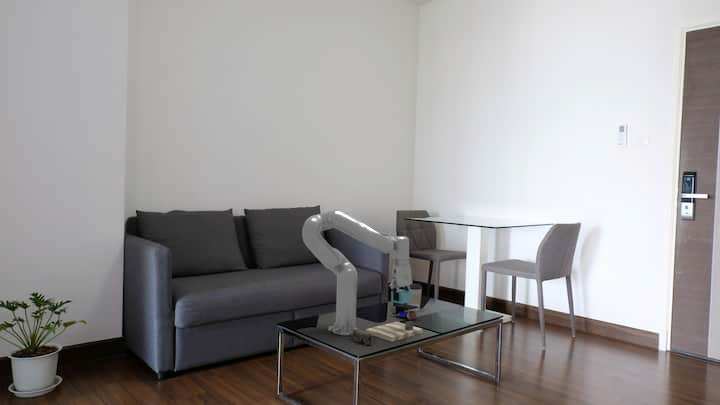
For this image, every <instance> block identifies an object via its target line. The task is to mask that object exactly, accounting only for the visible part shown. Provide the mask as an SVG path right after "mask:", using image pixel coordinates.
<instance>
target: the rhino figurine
mask: <svg viewBox="0 0 720 405" xmlns="http://www.w3.org/2000/svg"><path fill="white" fill-rule="evenodd" d="M351 330H352V329H351ZM352 331H353V333H352V334H351V333H350V335H349V336H350V338H351V339H354V338H356V342H355V343H357V344H359V343H363V344H362V345H363V346H364V347H365V346H367V345H368V346H373V341H372V339H373V336H372V335H371V334H370V333H369V332H367V331H366V330H362V329H361V328H357V329H355V330H352ZM368 341H369V344H367V343H368Z"/></svg>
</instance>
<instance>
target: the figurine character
mask: <svg viewBox="0 0 720 405" xmlns="http://www.w3.org/2000/svg"><path fill="white" fill-rule="evenodd" d="M416 308H418V307H417V306H412V305H407V303H404V304H400V303H399V304H396V305H394V306H391V308H390V311H391V313H392V314H395V316H397V317H396V318H400V317H401V318H407V319H408V320H409V321H415V320H416V319H417V317H418V316H417V312H416V311H409V310H412V309H416ZM407 309H409V310H408V311H405V310H407Z"/></svg>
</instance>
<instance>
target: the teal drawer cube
mask: <svg viewBox="0 0 720 405" xmlns="http://www.w3.org/2000/svg"><path fill="white" fill-rule="evenodd" d="M398 293H399V301H394V300H393V292H392V290H391V292H390V294H391V295H390V297H391V298H390V302H391V303H394V304H395V303H396V304H399V305H400V304H407V303H408V302H411V291H407V290H405V289H402V288H401V289H400V288H399V291H398Z"/></svg>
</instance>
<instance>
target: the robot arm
mask: <svg viewBox="0 0 720 405" xmlns="http://www.w3.org/2000/svg"><path fill="white" fill-rule="evenodd" d="M303 223H304V224H303V226H302V229H301V230H302V231H301V235H302V237H301V238H302V241H303V243H304V244H305V246H306V248H307V249H308V250H309V251H310V252H311V253H312V254H313V255H314V257H316V258H317V260H319V262H320V263H321V264H322V265H323V267H324V268H326V269H327V270H330V271H331V273H332V272H333V274H334V275H335V276H336V304H335V306H336V307H335V322H334V323H333V325H331V326H328V327H327V329H328V331H329V332H330V331H332V332H331V333H333V334H335V335H338V336H351V335H350V333H351V334H352V333H353V331H352V330H355V329H358V327H357V326H356V325H357V324H356V323H357V322H356V320H357V319H356V318H357V296H358V295H357V294H358V293H357V292H358V291H357V290H358V272H357V269H356V267H355V266H354V265H353V263H352V262H350V261H349V259H348V258H346V256H345V255H344V254H343V253H342V252H341V251H339V249H338V248H336V247H335V248H334V247H332V245H330V244H329V243H328V242H327V241H326V239H324V238H323V236H322V234H321V232H324V231H327V230H330V229H333V228H334V229H336V230H338V231H340V232H342V233H344V234H346V235H348V236H349V237H351V238H353V239H355V240H357V241H358V242H361V243H363V244H365V245H367V246H369V248H370V247H371V248H373V249H374V250H377V251H378V252H381V253H382V254H390V253H392V255H393V256H392V264H393V265H392V269H391V282H390V284H388V285H389V288H390V290H391V291H392V292H393V300H394V301H399V293H398V291H399V290H400V288H403V290H407V291H409V290H410V287H411V284H412V283H414V282H413V279H412V270H411V268H412V267H411V264H410V238H409V237H408V236H404V235H402V236H401V235H398V236H391V235H384V234H381V233H380V232H378V231H376V230H374V229H373V228H371V227H370V226H369V225H367V224H366V223H365V222H363V221H361V220H360V219H357V218H356V217H353V216H352V215H350V214H348V213H346V212H344V211H343V210H341V209H338V208H337V209H332V210H329V211H326V212H321V213H319V214H313V215H311V216H309V217H308V218H307V219H306V220H305V221H304V222H303ZM351 329H352V330H351Z"/></svg>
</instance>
